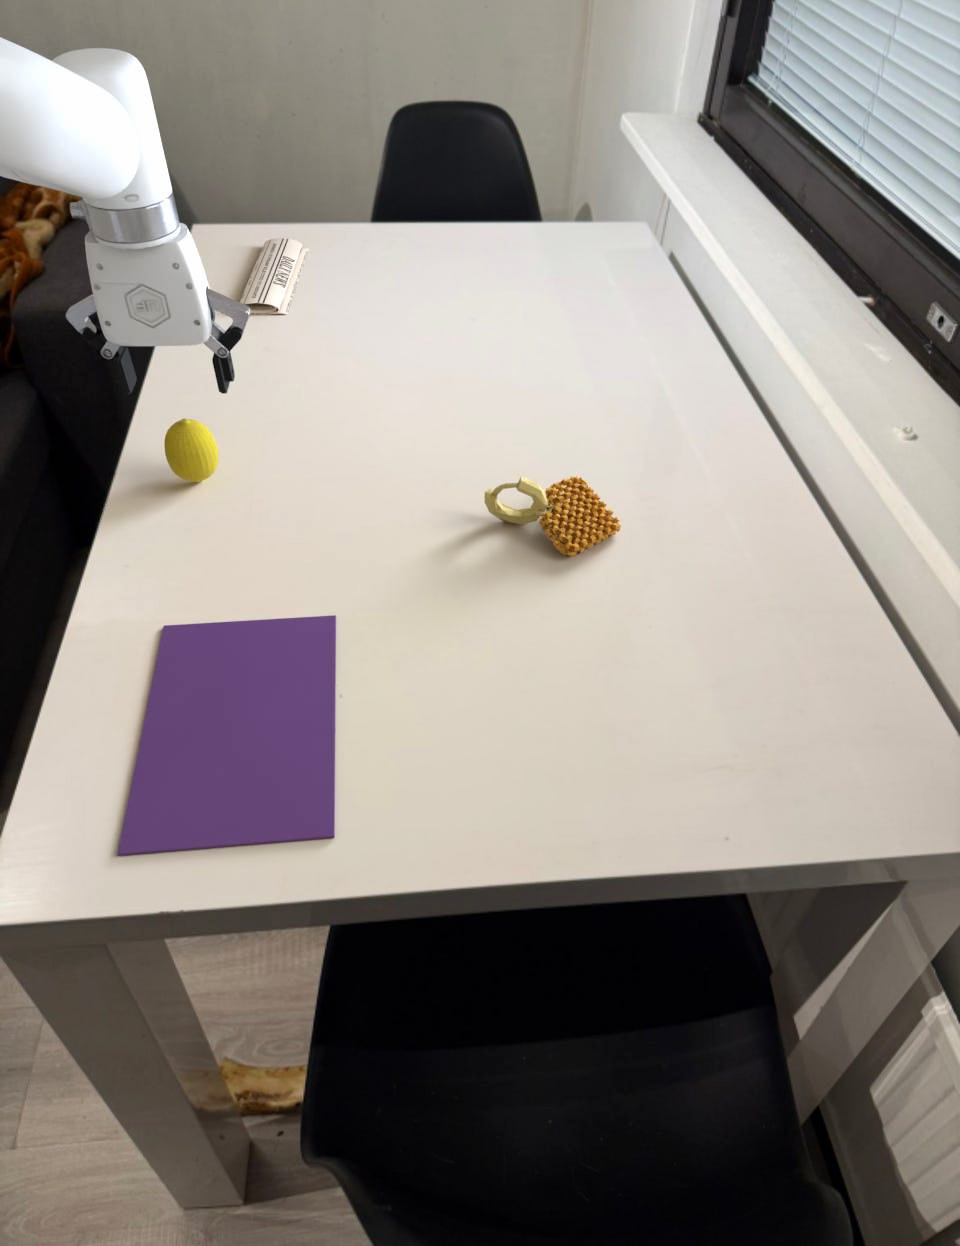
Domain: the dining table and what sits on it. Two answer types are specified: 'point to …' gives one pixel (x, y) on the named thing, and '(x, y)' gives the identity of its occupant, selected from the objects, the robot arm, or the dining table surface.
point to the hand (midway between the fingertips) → (178, 387)
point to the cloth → (236, 738)
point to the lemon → (191, 450)
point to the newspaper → (274, 277)
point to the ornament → (559, 512)
